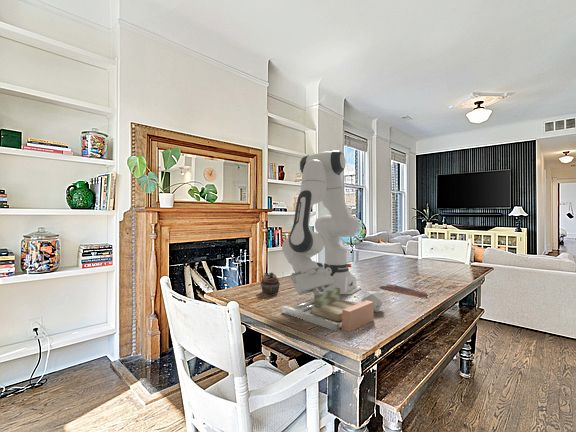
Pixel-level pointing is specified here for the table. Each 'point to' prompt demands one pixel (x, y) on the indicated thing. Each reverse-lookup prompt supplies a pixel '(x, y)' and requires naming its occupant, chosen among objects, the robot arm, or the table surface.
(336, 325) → the roller track
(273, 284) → the cupcake
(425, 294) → the wooden tablet
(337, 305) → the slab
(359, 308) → the block
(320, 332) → the table surface
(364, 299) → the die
